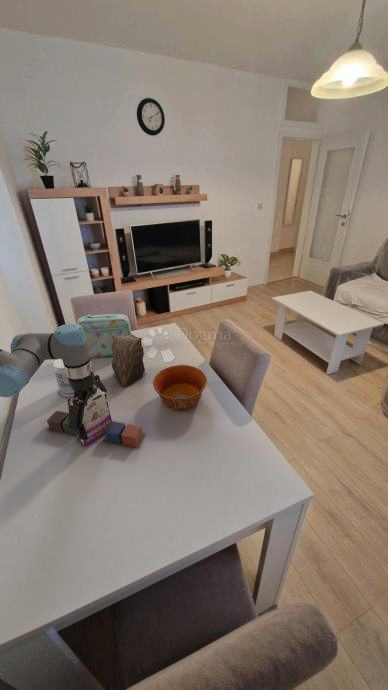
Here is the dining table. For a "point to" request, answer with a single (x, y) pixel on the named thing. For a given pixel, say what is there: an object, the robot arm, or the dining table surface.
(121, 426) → the block
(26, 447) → the dining table surface
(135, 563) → the dining table surface
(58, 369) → the supplement tub
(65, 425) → the block
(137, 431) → the block
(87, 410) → the candy bar box
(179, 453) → the dining table surface
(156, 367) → the dining table surface
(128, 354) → the brown rock
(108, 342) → the lunch box
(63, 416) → the block
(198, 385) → the bowl
